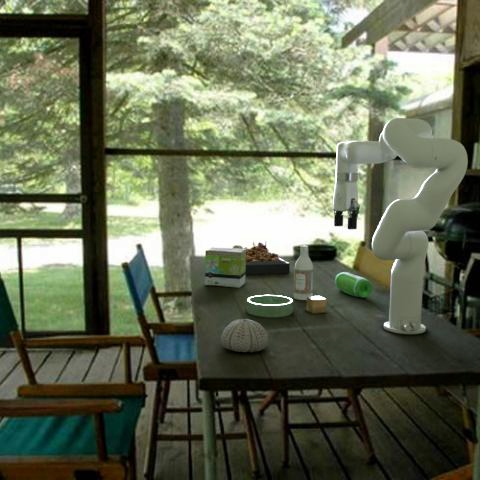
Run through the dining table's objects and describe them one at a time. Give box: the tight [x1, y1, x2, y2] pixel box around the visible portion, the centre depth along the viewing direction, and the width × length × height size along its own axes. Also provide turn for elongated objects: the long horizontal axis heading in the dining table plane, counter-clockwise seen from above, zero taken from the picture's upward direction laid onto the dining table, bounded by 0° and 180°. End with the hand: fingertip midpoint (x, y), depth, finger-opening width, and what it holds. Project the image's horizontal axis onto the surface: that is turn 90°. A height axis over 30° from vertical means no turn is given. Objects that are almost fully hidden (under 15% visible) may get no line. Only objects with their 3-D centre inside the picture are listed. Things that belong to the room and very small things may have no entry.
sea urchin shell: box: [220, 318, 271, 353], centre depth 170 cm, size 13×14×8 cm
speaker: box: [334, 271, 373, 299], centre depth 241 cm, size 18×7×8 cm, turn 21°
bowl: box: [246, 294, 294, 318], centre depth 210 cm, size 15×15×4 cm
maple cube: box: [305, 295, 327, 314], centre depth 212 cm, size 5×5×5 cm
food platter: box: [232, 241, 291, 275], centre depth 303 cm, size 45×25×10 cm, turn 12°
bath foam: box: [293, 245, 314, 301], centre depth 230 cm, size 7×7×20 cm
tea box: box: [204, 246, 246, 289], centre depth 256 cm, size 15×10×15 cm, turn 76°
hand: (345, 227), depth 216 cm, fingers open, 9 cm apart
